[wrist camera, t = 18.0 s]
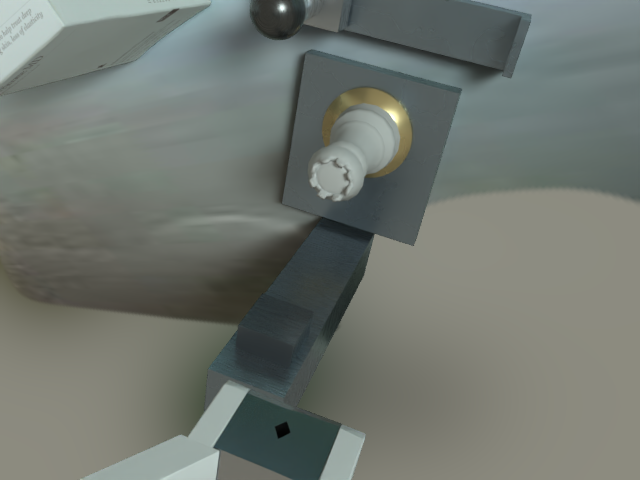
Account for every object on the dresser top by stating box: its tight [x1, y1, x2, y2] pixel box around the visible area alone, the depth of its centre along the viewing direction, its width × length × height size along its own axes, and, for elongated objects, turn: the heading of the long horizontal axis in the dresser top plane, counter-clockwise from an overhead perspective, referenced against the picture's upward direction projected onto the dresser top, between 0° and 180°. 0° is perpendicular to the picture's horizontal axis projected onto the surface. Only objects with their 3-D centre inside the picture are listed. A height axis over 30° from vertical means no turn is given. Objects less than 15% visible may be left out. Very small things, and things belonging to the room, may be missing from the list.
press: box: [204, 0, 531, 412], centre depth 32 cm, size 15×20×18 cm
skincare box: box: [0, 0, 211, 96], centre depth 34 cm, size 8×6×15 cm
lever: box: [250, 0, 352, 40], centre depth 31 cm, size 4×3×8 cm
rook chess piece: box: [308, 103, 400, 202], centre depth 34 cm, size 4×4×8 cm
